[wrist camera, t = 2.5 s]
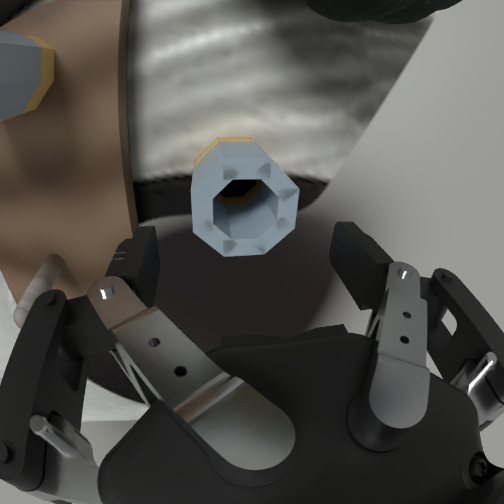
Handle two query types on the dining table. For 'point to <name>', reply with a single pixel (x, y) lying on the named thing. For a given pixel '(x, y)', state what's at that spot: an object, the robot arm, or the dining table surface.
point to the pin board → (68, 156)
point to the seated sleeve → (23, 72)
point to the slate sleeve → (241, 199)
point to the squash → (378, 9)
